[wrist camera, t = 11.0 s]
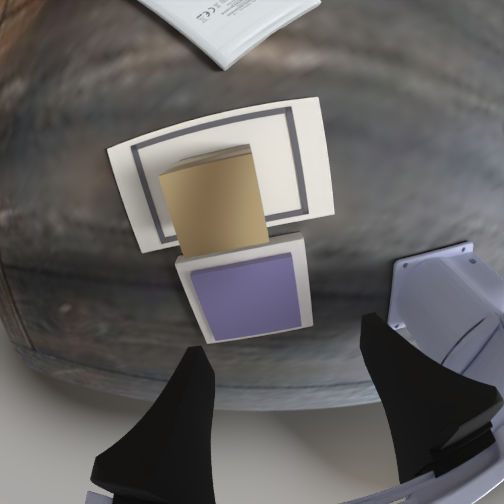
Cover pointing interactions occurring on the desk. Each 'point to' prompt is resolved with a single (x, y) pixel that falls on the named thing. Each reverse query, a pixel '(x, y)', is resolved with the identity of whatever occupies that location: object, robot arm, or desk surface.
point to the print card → (223, 137)
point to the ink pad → (249, 289)
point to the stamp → (215, 202)
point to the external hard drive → (228, 23)
